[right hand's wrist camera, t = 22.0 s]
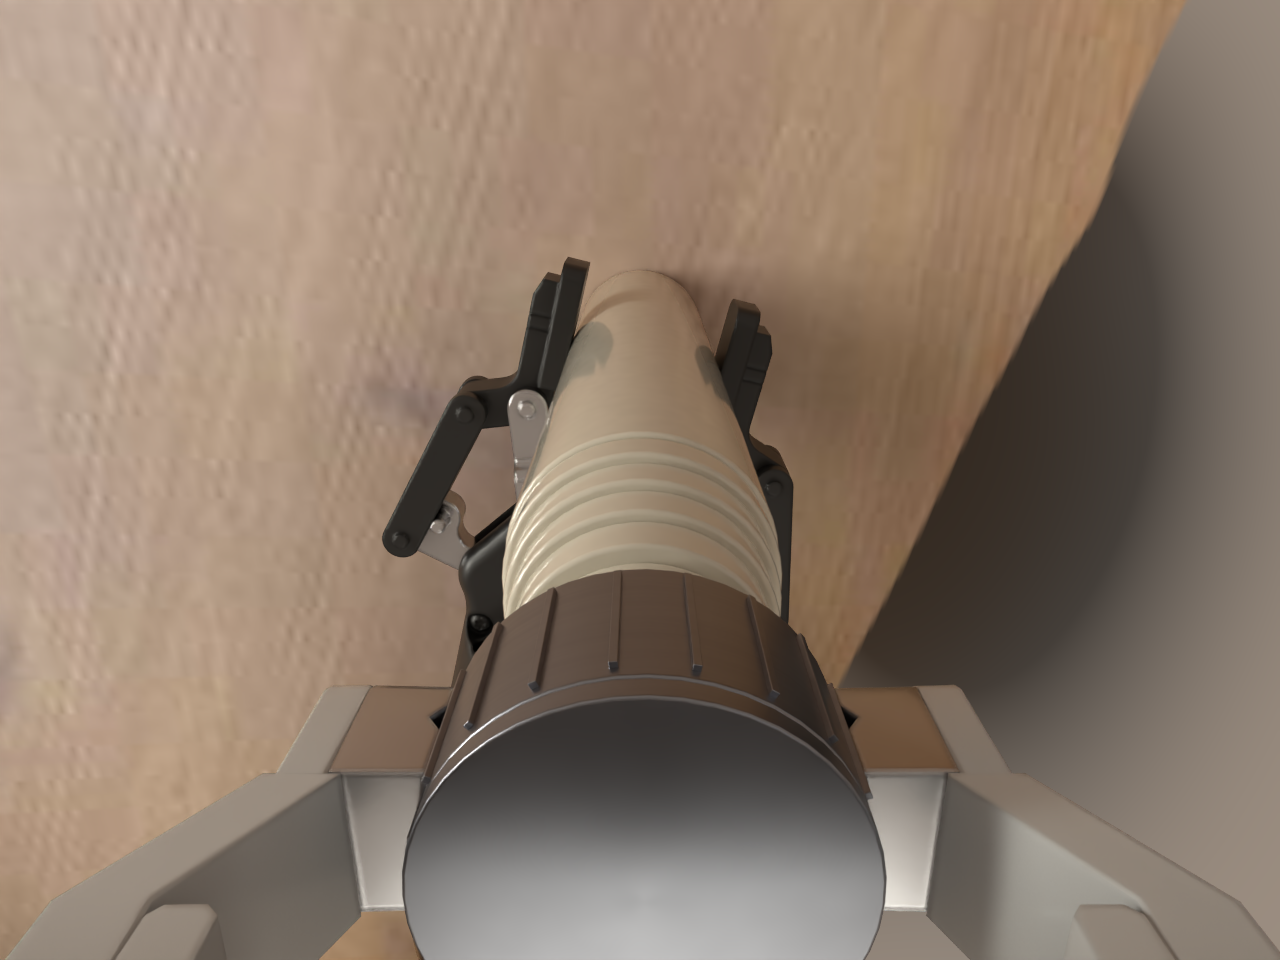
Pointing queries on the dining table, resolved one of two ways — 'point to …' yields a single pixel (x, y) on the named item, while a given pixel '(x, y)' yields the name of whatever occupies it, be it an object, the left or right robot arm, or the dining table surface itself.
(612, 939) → the cap
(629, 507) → the bottle
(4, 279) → the dining table surface
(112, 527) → the dining table surface
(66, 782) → the dining table surface
